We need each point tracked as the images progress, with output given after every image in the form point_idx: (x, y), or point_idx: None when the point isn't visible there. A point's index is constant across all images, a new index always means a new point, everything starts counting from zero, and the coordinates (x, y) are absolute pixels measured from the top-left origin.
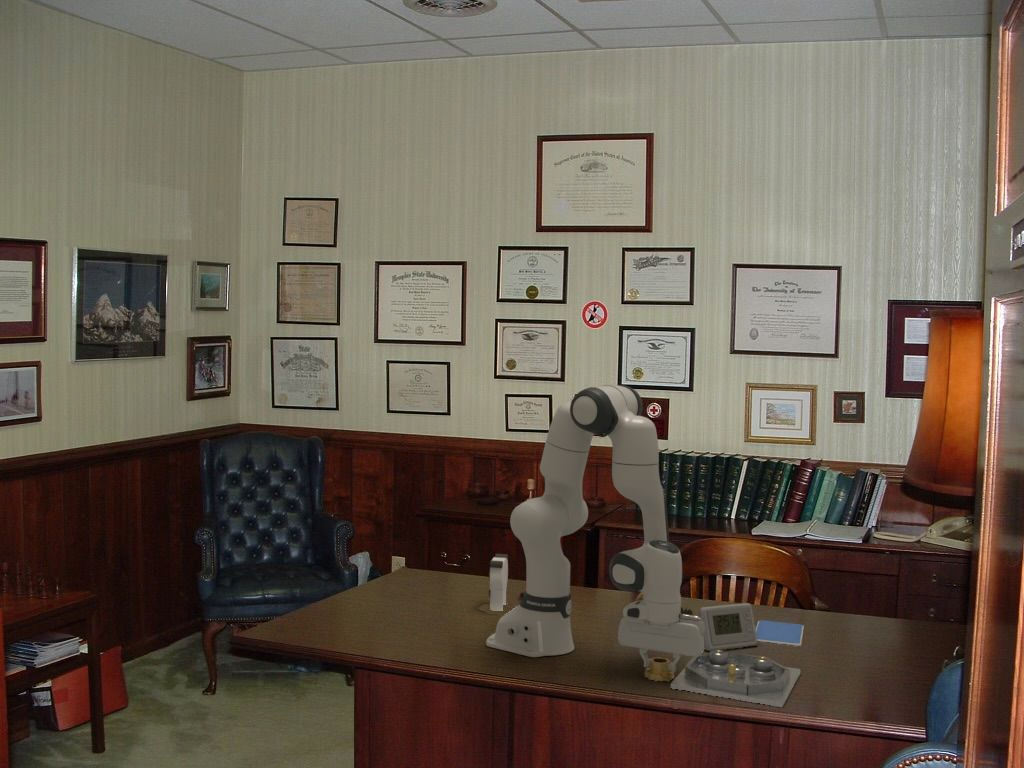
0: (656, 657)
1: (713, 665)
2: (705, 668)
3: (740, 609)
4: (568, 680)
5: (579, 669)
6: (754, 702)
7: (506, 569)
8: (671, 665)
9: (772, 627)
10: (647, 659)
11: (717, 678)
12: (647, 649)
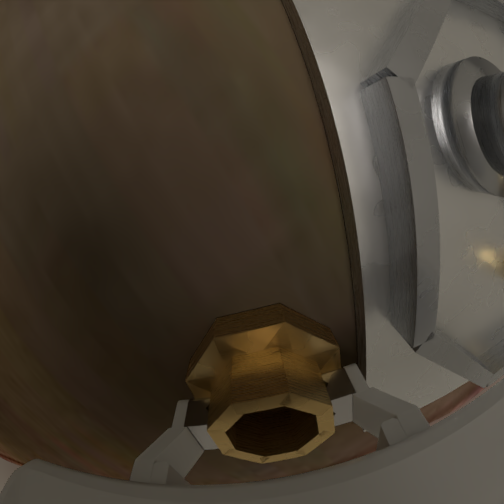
0: (223, 415)
1: (501, 187)
2: (444, 157)
3: None
4: (105, 475)
5: (45, 419)
6: None
7: None
8: (352, 417)
9: None
10: (196, 441)
11: (499, 260)
12: (171, 474)
